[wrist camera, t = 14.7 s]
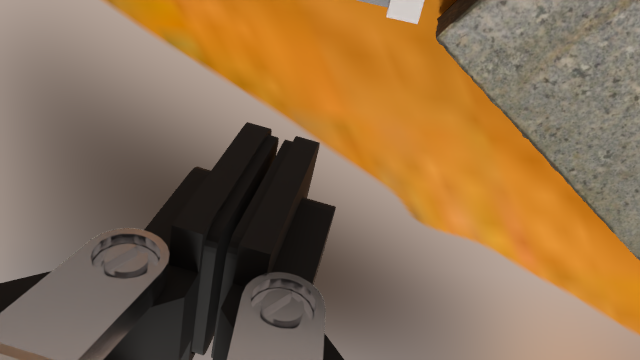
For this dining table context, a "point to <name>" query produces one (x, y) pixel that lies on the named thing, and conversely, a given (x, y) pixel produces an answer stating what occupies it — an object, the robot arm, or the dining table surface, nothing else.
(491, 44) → the stone block
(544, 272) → the dining table surface
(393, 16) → the plate
